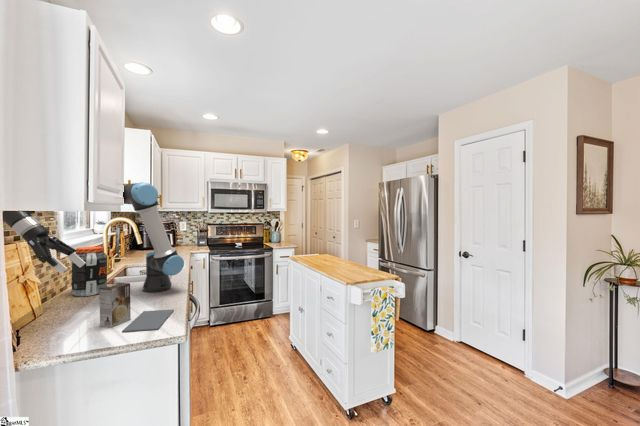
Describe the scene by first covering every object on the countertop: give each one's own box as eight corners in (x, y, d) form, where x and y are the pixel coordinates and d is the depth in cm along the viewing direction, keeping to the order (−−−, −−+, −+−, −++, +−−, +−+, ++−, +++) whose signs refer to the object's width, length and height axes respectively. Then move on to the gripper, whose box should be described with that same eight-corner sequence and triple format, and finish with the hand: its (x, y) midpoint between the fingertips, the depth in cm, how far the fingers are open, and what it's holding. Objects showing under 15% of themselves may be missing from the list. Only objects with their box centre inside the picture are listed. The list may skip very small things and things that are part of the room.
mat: (143, 312, 134) (143, 311, 134) (173, 310, 137) (173, 309, 137) (122, 332, 113) (122, 330, 113) (158, 329, 116) (158, 328, 116)
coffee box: (118, 318, 127) (118, 282, 127) (131, 319, 126) (131, 283, 126) (99, 326, 118) (99, 287, 118) (112, 327, 117) (112, 288, 117)
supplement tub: (102, 295, 158) (102, 248, 158) (66, 298, 153) (66, 250, 152) (110, 288, 173) (110, 245, 173) (78, 290, 167) (78, 246, 167)
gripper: (44, 235, 126) (82, 269, 130) (-3, 239, 102) (45, 281, 106) (59, 223, 128) (96, 257, 131) (16, 225, 104) (63, 266, 107)
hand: (74, 268), depth 119 cm, fingers open, 13 cm apart
